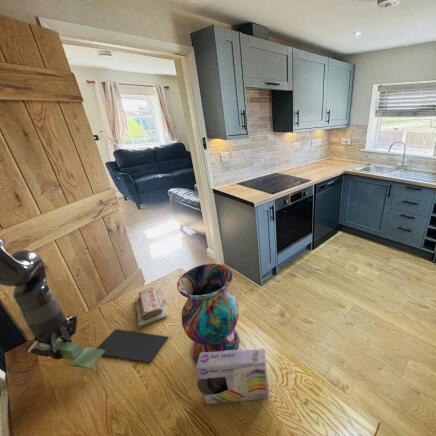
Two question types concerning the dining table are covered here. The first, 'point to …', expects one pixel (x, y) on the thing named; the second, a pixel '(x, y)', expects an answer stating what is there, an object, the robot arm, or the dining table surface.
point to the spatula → (78, 354)
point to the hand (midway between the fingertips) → (64, 353)
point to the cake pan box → (233, 375)
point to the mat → (132, 345)
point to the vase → (209, 309)
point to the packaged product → (149, 306)
